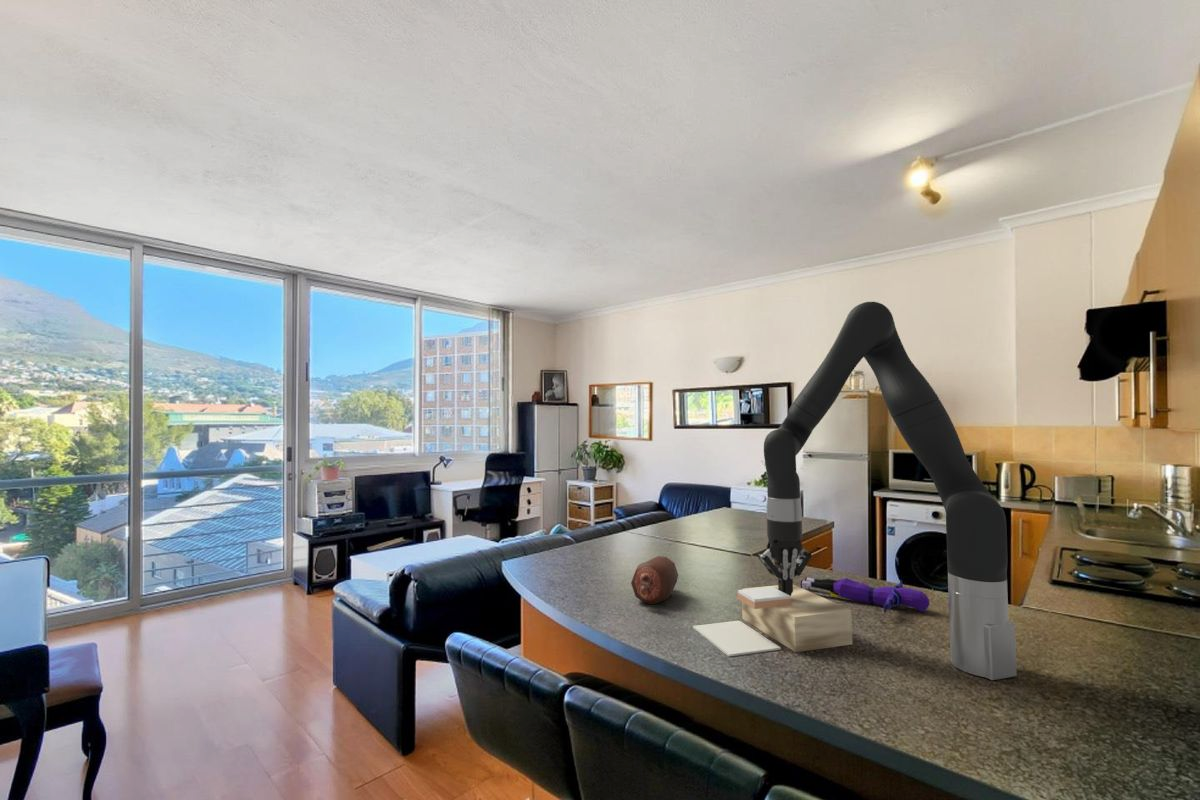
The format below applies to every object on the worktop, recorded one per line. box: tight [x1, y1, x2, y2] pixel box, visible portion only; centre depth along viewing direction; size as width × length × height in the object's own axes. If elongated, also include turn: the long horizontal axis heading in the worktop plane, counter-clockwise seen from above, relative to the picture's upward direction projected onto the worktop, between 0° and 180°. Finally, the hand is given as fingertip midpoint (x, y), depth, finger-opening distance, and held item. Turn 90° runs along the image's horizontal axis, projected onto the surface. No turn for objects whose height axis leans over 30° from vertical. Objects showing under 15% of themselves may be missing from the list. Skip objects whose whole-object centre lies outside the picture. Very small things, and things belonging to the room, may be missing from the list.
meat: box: [630, 555, 679, 605], centre depth 142 cm, size 20×12×10 cm, turn 156°
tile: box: [736, 586, 791, 609], centre depth 117 cm, size 7×9×2 cm
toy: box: [800, 576, 930, 614], centre depth 139 cm, size 27×6×30 cm
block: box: [741, 584, 853, 653], centre depth 119 cm, size 20×14×7 cm
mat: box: [692, 620, 782, 657], centre depth 115 cm, size 16×12×1 cm
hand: (785, 595), depth 119 cm, fingers closed
